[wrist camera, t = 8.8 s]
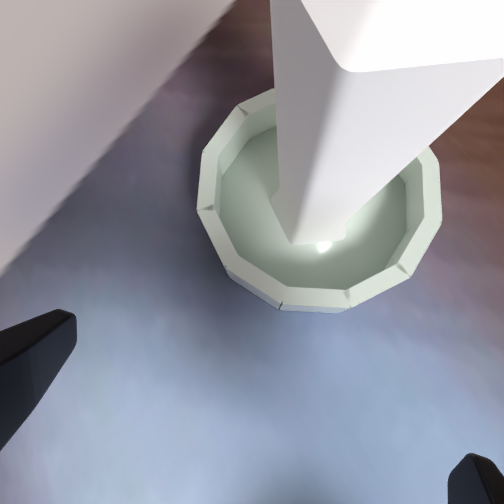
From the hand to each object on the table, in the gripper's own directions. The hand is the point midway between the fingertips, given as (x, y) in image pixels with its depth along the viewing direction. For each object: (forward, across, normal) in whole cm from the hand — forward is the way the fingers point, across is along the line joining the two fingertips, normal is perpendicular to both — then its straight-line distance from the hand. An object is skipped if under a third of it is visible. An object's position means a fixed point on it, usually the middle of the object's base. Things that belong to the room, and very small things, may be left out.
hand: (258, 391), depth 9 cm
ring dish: (+12, 0, 0) cm, 12 cm away
